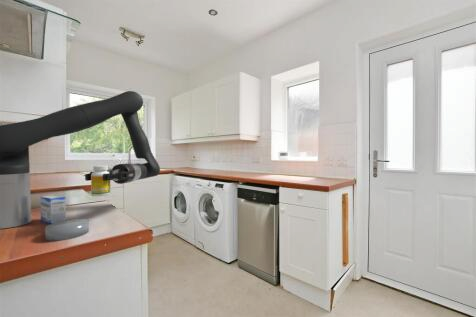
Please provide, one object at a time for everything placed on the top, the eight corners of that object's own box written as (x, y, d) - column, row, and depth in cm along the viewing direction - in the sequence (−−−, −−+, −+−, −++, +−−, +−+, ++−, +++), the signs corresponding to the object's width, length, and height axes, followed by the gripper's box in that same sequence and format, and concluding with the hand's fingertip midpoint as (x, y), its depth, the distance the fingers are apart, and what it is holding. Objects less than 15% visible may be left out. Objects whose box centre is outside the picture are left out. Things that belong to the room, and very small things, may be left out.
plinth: (35, 240, 60) (35, 229, 60) (67, 228, 70) (67, 218, 70) (69, 241, 59) (68, 230, 59) (96, 228, 69) (96, 219, 69)
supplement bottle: (90, 194, 73) (90, 165, 73) (108, 192, 76) (108, 165, 76) (92, 197, 69) (91, 166, 69) (111, 195, 72) (111, 165, 72)
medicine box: (40, 221, 78) (39, 196, 78) (55, 217, 82) (54, 194, 82) (51, 224, 74) (50, 198, 74) (66, 220, 78) (65, 196, 78)
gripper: (109, 163, 87) (73, 165, 70) (144, 163, 86) (116, 165, 69) (109, 182, 87) (74, 188, 71) (144, 182, 86) (116, 189, 69)
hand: (95, 177), depth 70 cm, fingers closed on supplement bottle, 5 cm apart
